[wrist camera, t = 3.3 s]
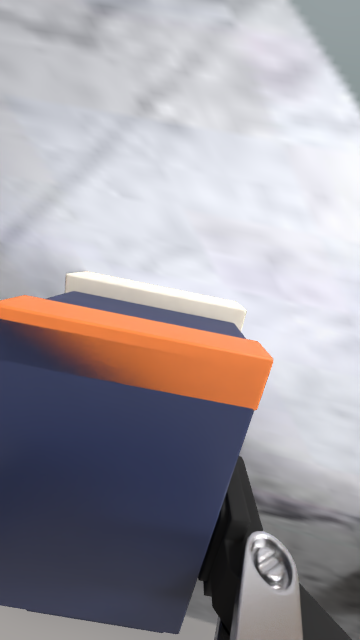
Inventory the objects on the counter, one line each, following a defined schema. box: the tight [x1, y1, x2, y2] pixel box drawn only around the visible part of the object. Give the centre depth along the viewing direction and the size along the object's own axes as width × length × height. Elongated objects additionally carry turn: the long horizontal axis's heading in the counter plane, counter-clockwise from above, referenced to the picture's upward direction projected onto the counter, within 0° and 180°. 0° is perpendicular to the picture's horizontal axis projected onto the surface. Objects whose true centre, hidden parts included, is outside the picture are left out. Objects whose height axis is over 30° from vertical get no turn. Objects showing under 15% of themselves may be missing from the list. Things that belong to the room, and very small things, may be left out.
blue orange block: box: [0, 271, 273, 634], centre depth 8 cm, size 13×6×5 cm, turn 169°
